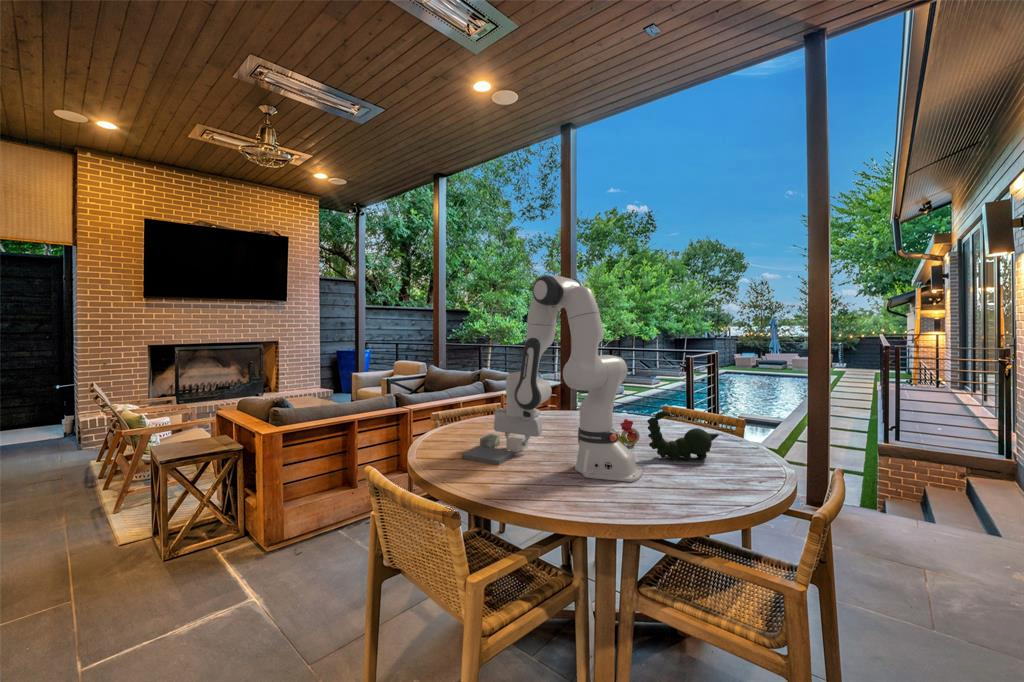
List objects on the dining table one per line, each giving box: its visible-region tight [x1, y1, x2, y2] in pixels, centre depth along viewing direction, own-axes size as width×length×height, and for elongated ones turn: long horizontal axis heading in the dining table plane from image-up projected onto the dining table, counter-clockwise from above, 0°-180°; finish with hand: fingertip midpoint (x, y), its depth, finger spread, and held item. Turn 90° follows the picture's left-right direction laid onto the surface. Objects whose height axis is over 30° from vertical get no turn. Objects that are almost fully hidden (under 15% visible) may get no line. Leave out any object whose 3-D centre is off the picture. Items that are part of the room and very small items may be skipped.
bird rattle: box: [618, 418, 640, 447], centre depth 179 cm, size 6×11×9 cm
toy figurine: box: [646, 410, 720, 462], centre depth 162 cm, size 9×19×25 cm
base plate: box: [461, 445, 516, 466], centre depth 167 cm, size 16×12×2 cm
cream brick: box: [505, 434, 529, 453], centre depth 177 cm, size 5×8×4 cm, turn 145°
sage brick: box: [479, 433, 501, 449], centre depth 179 cm, size 5×8×4 cm, turn 158°
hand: (517, 444), depth 177 cm, fingers closed on cream brick, 5 cm apart
